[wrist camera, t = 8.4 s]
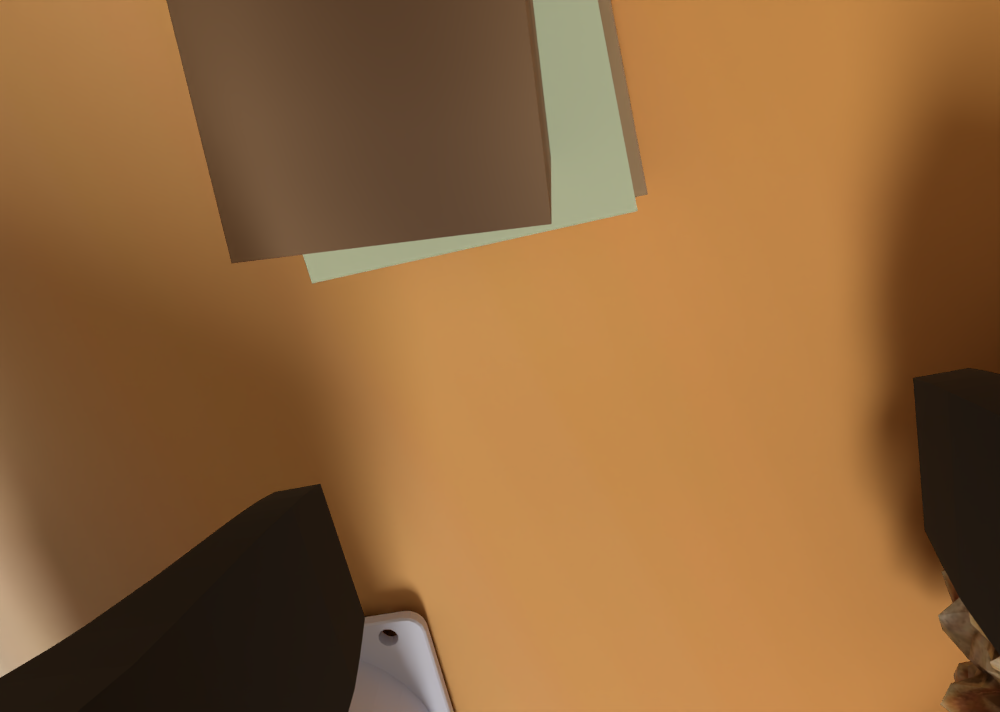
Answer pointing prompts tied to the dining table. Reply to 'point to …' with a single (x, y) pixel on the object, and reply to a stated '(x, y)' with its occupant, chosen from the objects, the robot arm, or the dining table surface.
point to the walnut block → (366, 119)
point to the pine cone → (986, 677)
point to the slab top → (572, 138)
